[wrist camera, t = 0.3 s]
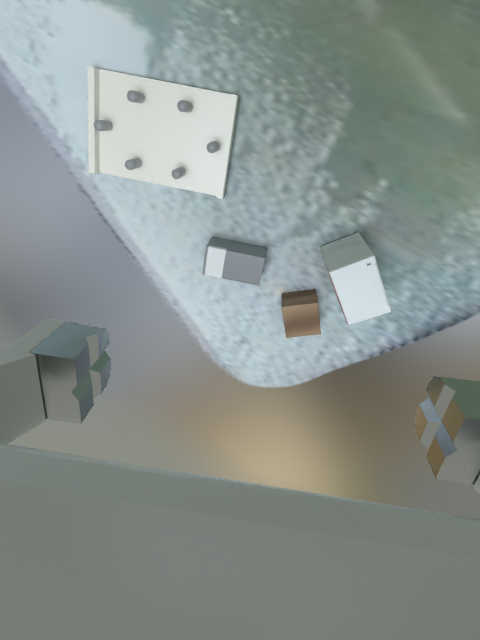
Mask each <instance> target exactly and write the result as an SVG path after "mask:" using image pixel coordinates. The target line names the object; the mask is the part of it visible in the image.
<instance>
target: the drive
mask: <svg viewBox="0 0 480 640" xmlns="http://www.w3.org/2000/svg"><path fill="white" fill-rule="evenodd" d="M265 255H266V247H261V246H256V245H251V244H246V243H241V242H236V241H231V240H226V239H221V238H216V237H212V238H211V240H210V241H209V243H208V245H207V246H206V252H205V260H204V267H203V274H204V275H206V276H211V277H216V278H221V279H222V278H224V279H229V280H234V281H239V282H244V283H249V284H254V285H260V280H261V275H262V271H263V266H264V261H265Z"/></svg>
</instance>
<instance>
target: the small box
mask: <svg viewBox="0 0 480 640" xmlns="http://www.w3.org/2000/svg"><path fill="white" fill-rule="evenodd" d="M321 250H322V253H323V256H324V259H325V262H326V266H327V269H328V272H329V275H330V278H331V281H332V284H333V287H334V290H335V293H336V295H337V298H338V301H339V303H340V306H341V309H342V311H343V314H344V316H345V319H346V321H347V324H348V325H351V324H354V323H357V322H360V321H364V320H367V319H370V318H373V317H376V316H380V315H383V314H386V313H389V312H391V311H392V310H391V307H390V305H389V302H388V299H387V296H386V293H385V289H384V286H383V283H382V280H381V276H380V273H379V270H378V266H377V262H376V258H375V255H374V254H373V252H372V251H371V249H370V248H369V246H368V245H367V243H366V242H365V240H364V239H363V238H362V236H361V235H360V233H359V232H357V233H355V234H352V235H350V236H347V237H344V238H342V239H339V240H337V241H334V242H331V243H329V244H326V245H324V246H321Z"/></svg>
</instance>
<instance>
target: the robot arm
mask: <svg viewBox="0 0 480 640" xmlns="http://www.w3.org/2000/svg"><path fill="white" fill-rule="evenodd" d="M109 344H110V342H109V332H108V331H107V329H106V328H102V327H96V326H90V325H84V324H77V323H72V322H66V321H59V320H51V319H45V320H43V321H42V322H41V323H40V324H38V325H37V326H36V327H35V328H34V329H32V330H31V331H30V332H28V333H27V334H26V335H25V336H23V337H22V338H21V339H20V340H19V341H18V342H16V343H15V344H13V345H12V346H11V347H10V348H9V349H7V350H4V349H0V640H480V519H475V518H468V517H462V516H456V515H449V514H443V513H437V512H431V511H424V510H418V509H412V508H405V507H399V506H392V505H386V504H380V503H374V502H367V501H361V500H354V499H349V498H342V497H336V496H330V495H323V494H317V493H311V492H304V491H297V490H291V489H285V488H279V487H273V486H266V485H260V484H254V483H248V482H241V481H235V480H229V479H222V478H216V477H210V476H203V475H197V474H191V473H185V472H178V471H172V470H166V469H159V468H153V467H147V466H141V465H134V464H128V463H122V462H116V461H109V460H102V459H96V458H90V457H84V456H78V455H72V454H65V453H59V452H53V451H46V450H40V449H34V448H27V447H21V446H15V445H9V444H8V443H10V442H11V441H13V440H15V439H16V438H18V437H20V436H21V435H23V434H25V433H27V432H28V431H30V430H31V429H33V428H35V427H37V426H38V425H40V424H42V423H43V422H45V421H46V419H50V420H57V421H65V422H73V423H82V422H83V420H84V419H85V417H86V416H87V414H88V413H89V412H90V410H91V409H92V407H93V406H94V403H93V398H94V397H96V396H98V395H100V394H102V392H103V391H104V389H105V388H106V386H107V383H108V380H109V377H110V370H111V358H110V357H109V356H108V355H107V353H106V352H105V351H104V350H105V349H106V348H107V347H108V345H109ZM426 391H427V394H428V397H429V398H428V399H427V400H425V401H424V402H422V403H421V404H420V405H419V408H418V411H417V413H416V420H415V428H416V434H417V437H418V439H419V441H420V443H421V444H423V445H424V446H425V447H426V448H427V449H429V450H428V452H427V454H426V458H427V460H428V463H429V465H430V467H431V469H432V472H433V474H434V476H435V478H436V479H440V480H446V481H451V482H457V483H462V484H468V485H473V487H474V488H475V489H476V490H477V491H478V492H479V493H480V382H479V381H470V380H461V379H454V378H445V377H436V376H434V377H433V378H432V379H431V380H430V382H429V383H428V386H427V388H426Z"/></svg>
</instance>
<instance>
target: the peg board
mask: <svg viewBox="0 0 480 640" xmlns="http://www.w3.org/2000/svg"><path fill="white" fill-rule="evenodd" d="M87 67H88V148H89V173H93V174H96V173H104V174H109V175H114V176H119V177H124V178H129V179H134V180H139V181H144V182H149V183H154V184H159V185H165V186H170V187H175V188H180V189H185V190H190V191H195V192H200V193H205V194H210V195H215V196H216V198H220V199H223V197H224V196H225V191H226V184H227V177H228V170H229V164H230V157H231V150H232V143H233V137H234V130H235V123H236V116H237V110H238V103H239V96H238V95H234V94H226V93H221V92H216V91H211V90H206V89H201V88H195V87H190V86H185V85H180V84H175V83H170V82H165V81H159V80H154V79H149V78H144V77H139V76H134V75H129V74H123V73H118V72H113V71H108V70H103V69H98V68H95V67H90V66H87Z"/></svg>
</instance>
